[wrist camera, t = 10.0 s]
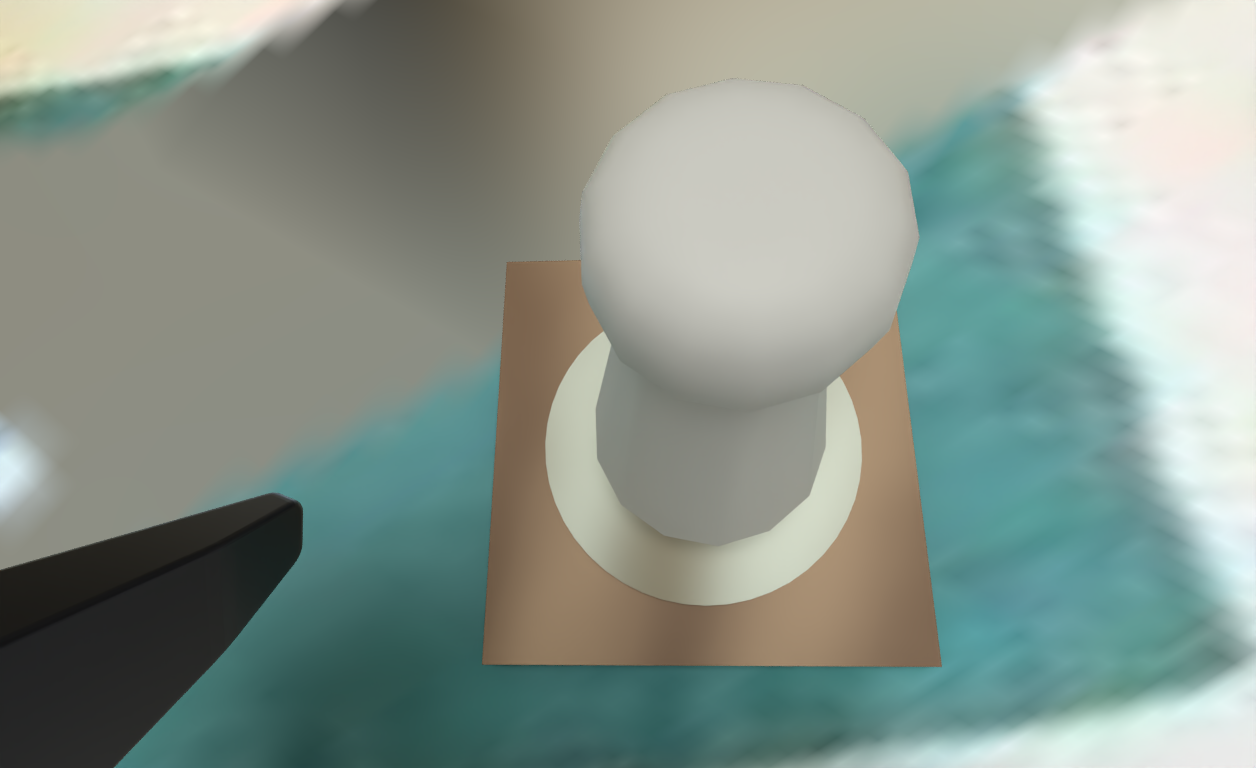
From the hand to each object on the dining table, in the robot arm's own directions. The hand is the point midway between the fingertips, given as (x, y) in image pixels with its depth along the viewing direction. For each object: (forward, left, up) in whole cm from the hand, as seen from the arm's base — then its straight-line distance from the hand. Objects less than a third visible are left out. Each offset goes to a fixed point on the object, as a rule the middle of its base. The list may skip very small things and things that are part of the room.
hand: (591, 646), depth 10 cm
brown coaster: (+2, +5, -12) cm, 13 cm away
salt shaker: (+2, +5, -10) cm, 12 cm away
